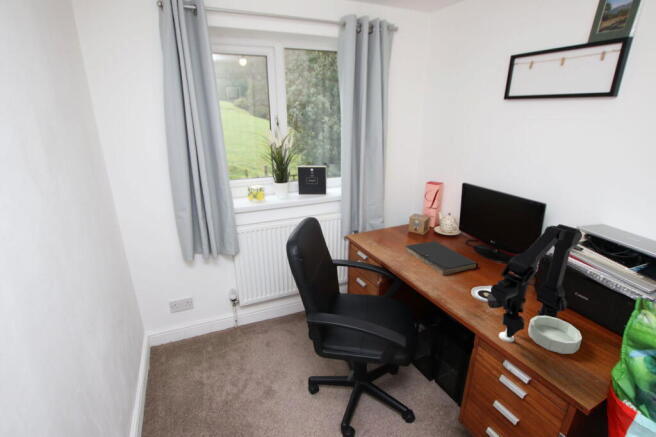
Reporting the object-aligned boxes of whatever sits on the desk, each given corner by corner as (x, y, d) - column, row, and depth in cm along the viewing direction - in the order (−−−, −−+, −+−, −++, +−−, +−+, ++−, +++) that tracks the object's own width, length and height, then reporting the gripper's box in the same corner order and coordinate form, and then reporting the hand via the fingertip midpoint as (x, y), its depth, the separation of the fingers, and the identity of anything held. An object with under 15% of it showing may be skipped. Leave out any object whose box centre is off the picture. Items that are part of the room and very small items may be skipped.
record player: (523, 294, 137) (481, 298, 135) (522, 300, 138) (480, 305, 136) (505, 281, 148) (466, 285, 146) (504, 286, 149) (465, 290, 147)
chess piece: (509, 333, 117) (513, 310, 114) (517, 342, 113) (522, 318, 110) (496, 333, 117) (500, 310, 114) (503, 342, 113) (508, 319, 109)
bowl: (527, 321, 124) (529, 311, 122) (573, 332, 117) (576, 322, 116) (530, 344, 111) (532, 334, 110) (582, 359, 105) (585, 348, 103)
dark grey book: (405, 245, 187) (437, 240, 196) (404, 251, 189) (436, 246, 197) (443, 269, 158) (478, 261, 167) (442, 276, 160) (477, 268, 168)
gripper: (491, 275, 120) (484, 309, 125) (489, 300, 105) (483, 338, 110) (524, 282, 115) (516, 317, 120) (528, 308, 100) (519, 348, 105)
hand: (508, 329), depth 114 cm, fingers open, 9 cm apart
